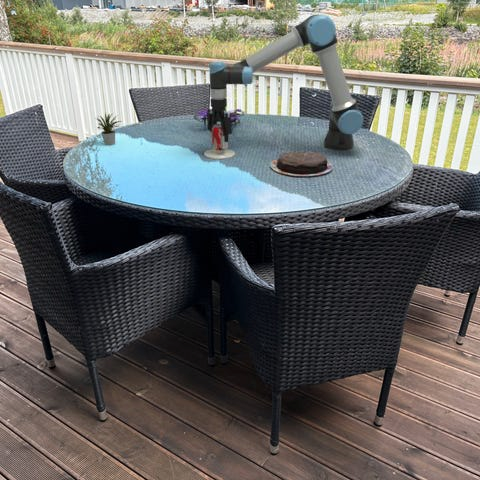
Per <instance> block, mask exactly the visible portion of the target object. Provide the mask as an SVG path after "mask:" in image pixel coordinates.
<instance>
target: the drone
mask: <svg viewBox="0 0 480 480" xmlns="http://www.w3.org/2000/svg"><path fill="white" fill-rule="evenodd" d="M226 112H228V113H231V116H230V120H231V131H232V127H233V126H234V127H236V126H237V125H238V124H240V123H241V119H240V118H239V117H242V116H244V115H245V111H244V110H242V109H241V108H240V109H239V108H236V109H234V111H231V110H228V111H227V110H226ZM238 112H239V113H238ZM193 118H194V120H195V121H198V122H201V123H202V122H203V126H204V132H207V126H208V111H207V110H201V111H200V112H197V113H195V114H194V115H193ZM217 123H220V121H219V119H218V121H217ZM232 132H233V131H232Z"/></svg>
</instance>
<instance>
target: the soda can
mask: <svg viewBox="0 0 480 480" xmlns="http://www.w3.org/2000/svg"><path fill="white" fill-rule="evenodd" d="M222 135H224V134H223V130H222V126H221V123H217V124H214V125H213V128H212V138H211V147H212V149H214V150H215V151H224V150H225V149H223V144H222ZM226 149H228V148H226Z"/></svg>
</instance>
